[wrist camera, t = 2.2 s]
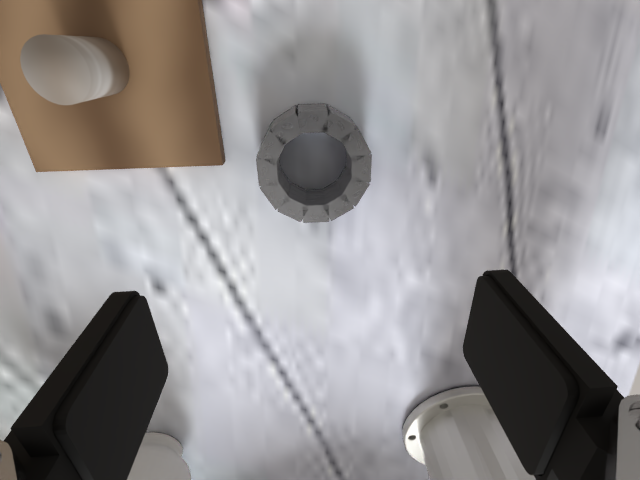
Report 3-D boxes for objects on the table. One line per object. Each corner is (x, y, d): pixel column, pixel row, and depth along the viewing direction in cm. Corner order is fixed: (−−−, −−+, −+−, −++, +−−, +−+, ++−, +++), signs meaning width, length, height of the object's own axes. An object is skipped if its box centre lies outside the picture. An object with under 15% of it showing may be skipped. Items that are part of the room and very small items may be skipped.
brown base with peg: (192, -63, 19) (155, -101, 14) (225, 160, 25) (207, 188, 20) (-43, -60, 19) (-162, -97, 14) (45, 167, 24) (-18, 197, 19)
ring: (365, 102, 23) (373, 109, 21) (361, 202, 27) (368, 220, 24) (256, 105, 23) (251, 113, 21) (266, 206, 26) (263, 224, 24)
